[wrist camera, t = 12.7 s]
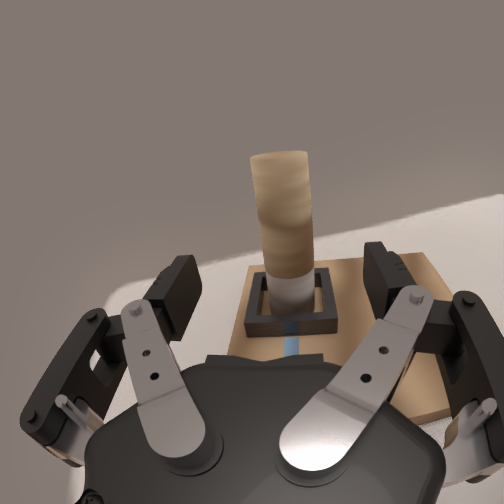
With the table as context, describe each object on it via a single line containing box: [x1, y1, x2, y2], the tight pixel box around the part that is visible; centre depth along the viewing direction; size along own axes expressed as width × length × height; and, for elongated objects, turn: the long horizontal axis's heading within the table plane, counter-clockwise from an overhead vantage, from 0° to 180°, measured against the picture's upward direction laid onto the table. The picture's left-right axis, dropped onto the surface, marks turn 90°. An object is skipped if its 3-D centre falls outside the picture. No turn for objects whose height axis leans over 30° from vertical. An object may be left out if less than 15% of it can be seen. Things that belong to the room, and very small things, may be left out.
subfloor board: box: [227, 252, 453, 425], centre depth 20 cm, size 19×18×2 cm
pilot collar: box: [244, 267, 338, 338], centre depth 22 cm, size 7×7×2 cm
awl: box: [250, 150, 315, 315], centre depth 19 cm, size 4×4×12 cm
